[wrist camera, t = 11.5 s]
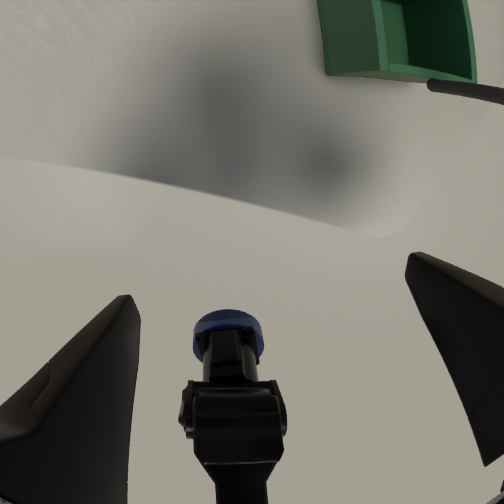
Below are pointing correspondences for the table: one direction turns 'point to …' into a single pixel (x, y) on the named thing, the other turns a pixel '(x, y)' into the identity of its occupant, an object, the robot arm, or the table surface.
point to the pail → (404, 44)
